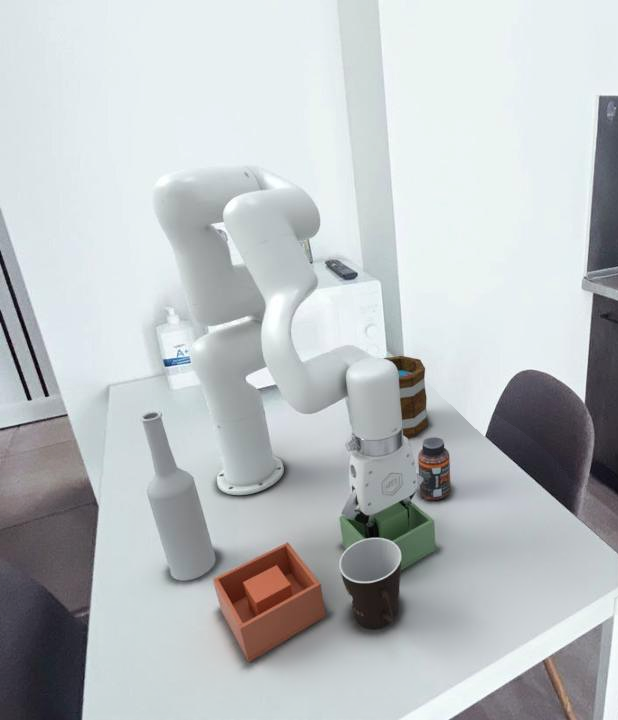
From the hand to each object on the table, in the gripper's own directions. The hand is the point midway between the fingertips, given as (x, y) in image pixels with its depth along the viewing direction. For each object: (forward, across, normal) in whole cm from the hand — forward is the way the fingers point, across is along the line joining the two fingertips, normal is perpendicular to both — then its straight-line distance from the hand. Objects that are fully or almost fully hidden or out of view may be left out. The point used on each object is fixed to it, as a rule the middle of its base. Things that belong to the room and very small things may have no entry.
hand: (387, 530), depth 90 cm
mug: (+4, +21, +33) cm, 39 cm away
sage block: (0, 0, 0) cm, 0 cm away
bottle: (+4, -26, +18) cm, 32 cm away
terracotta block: (+3, -20, 0) cm, 20 cm away
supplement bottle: (+4, +15, +7) cm, 17 cm away
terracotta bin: (+4, -20, 0) cm, 20 cm away
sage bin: (+4, 0, 0) cm, 4 cm away
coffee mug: (+4, -9, -11) cm, 15 cm away
